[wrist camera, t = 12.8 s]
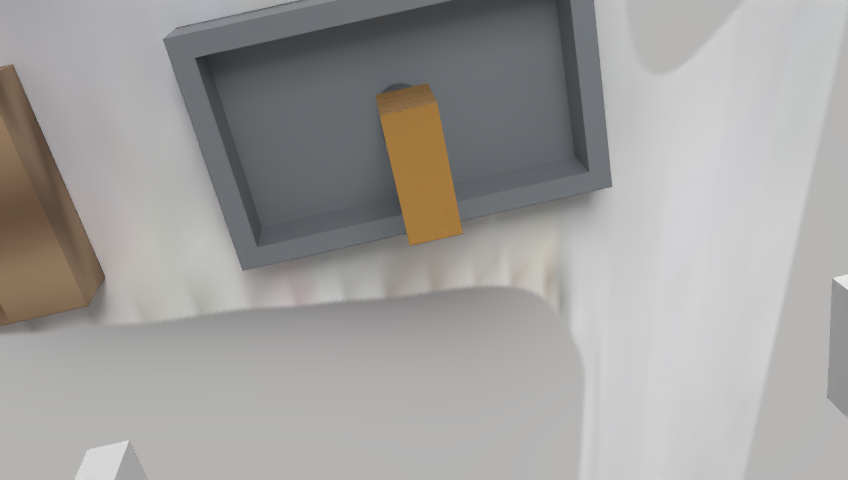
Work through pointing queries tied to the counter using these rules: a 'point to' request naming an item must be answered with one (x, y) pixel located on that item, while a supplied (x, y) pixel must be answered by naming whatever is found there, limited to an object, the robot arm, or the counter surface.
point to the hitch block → (37, 220)
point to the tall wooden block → (419, 161)
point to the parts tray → (359, 121)
